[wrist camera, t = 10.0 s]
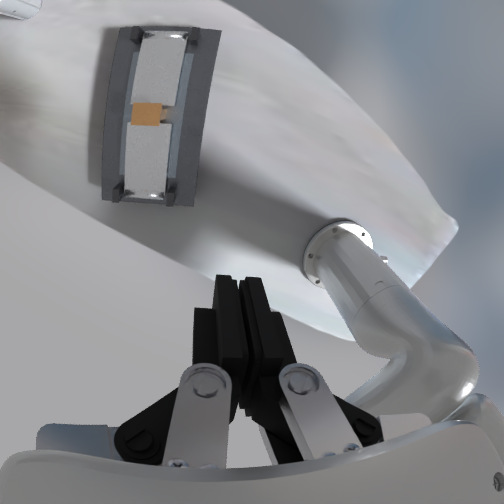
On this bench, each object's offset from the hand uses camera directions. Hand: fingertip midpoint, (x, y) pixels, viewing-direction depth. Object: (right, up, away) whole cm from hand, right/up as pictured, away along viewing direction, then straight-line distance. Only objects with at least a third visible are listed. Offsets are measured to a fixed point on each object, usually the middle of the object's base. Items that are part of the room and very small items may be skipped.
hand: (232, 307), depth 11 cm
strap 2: (-11, +13, +18) cm, 25 cm away
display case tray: (-11, +20, +20) cm, 30 cm away
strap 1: (-9, +22, +13) cm, 28 cm away
